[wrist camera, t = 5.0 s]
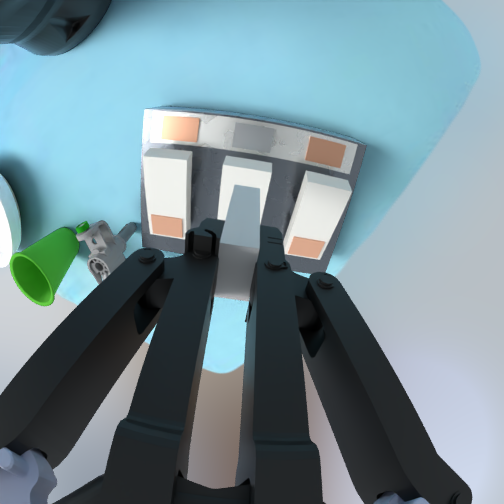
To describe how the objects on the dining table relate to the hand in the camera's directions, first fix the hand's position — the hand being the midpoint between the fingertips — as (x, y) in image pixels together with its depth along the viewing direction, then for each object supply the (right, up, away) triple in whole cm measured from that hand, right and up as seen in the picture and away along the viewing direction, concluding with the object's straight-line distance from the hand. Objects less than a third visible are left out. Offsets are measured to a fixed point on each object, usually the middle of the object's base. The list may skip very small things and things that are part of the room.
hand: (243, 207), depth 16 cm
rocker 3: (+6, 0, +9) cm, 11 cm away
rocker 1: (-7, +3, +9) cm, 12 cm away
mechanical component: (-16, +1, +19) cm, 25 cm away
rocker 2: (-1, +2, +9) cm, 9 cm away
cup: (-29, -1, +21) cm, 36 cm away
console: (0, +6, +15) cm, 16 cm away
